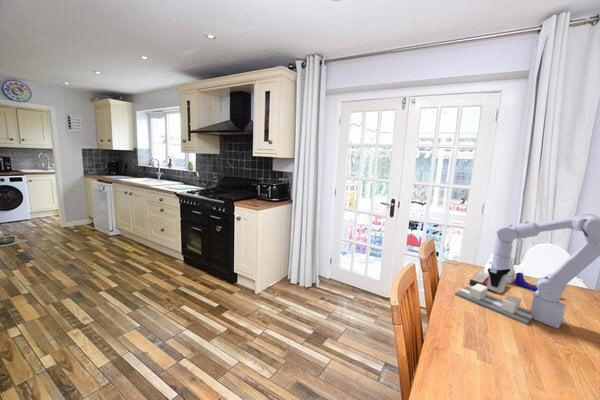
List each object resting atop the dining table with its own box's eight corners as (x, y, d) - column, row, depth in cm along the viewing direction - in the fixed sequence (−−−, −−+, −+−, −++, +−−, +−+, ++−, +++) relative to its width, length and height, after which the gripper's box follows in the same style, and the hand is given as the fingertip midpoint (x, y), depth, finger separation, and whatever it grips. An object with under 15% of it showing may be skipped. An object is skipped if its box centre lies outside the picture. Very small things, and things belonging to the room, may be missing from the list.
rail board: (535, 315, 109) (536, 312, 109) (526, 324, 102) (527, 322, 102) (466, 288, 129) (466, 285, 129) (454, 294, 122) (455, 292, 122)
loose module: (504, 290, 114) (507, 274, 113) (500, 293, 111) (503, 277, 110) (490, 285, 118) (493, 270, 117) (486, 288, 115) (489, 272, 114)
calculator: (469, 278, 133) (479, 269, 143) (468, 286, 134) (478, 277, 144) (496, 287, 125) (504, 277, 135) (495, 295, 126) (503, 285, 136)
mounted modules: (519, 307, 111) (521, 299, 111) (513, 313, 107) (514, 304, 106) (476, 291, 124) (477, 283, 123) (469, 296, 119) (470, 287, 119)
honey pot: (499, 284, 136) (505, 250, 133) (477, 273, 148) (483, 241, 146) (519, 283, 139) (526, 249, 136) (497, 272, 151) (502, 241, 148)
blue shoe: (548, 293, 128) (550, 282, 127) (543, 295, 126) (546, 283, 126) (519, 282, 139) (521, 271, 138) (514, 284, 137) (516, 273, 136)
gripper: (497, 248, 119) (492, 277, 122) (484, 254, 111) (478, 285, 113) (516, 253, 114) (510, 283, 116) (504, 260, 105) (498, 292, 107)
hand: (496, 285), depth 114 cm, fingers closed on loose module, 4 cm apart
